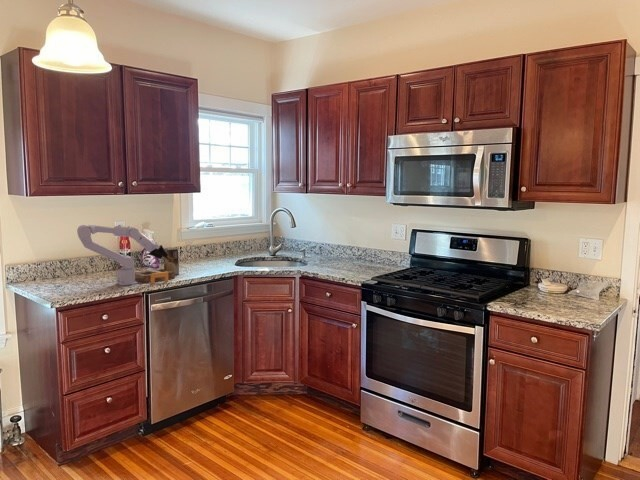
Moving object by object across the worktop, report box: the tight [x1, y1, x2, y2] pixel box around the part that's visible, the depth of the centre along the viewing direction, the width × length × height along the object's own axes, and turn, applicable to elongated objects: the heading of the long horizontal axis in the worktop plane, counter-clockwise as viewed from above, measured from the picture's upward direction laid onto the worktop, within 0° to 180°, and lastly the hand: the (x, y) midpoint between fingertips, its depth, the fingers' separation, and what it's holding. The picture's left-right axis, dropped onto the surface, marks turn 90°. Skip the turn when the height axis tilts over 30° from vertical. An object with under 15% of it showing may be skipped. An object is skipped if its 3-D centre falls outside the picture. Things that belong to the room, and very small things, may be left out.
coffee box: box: [163, 248, 180, 276], centre depth 301 cm, size 9×6×16 cm
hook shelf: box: [135, 268, 176, 284], centre depth 285 cm, size 20×14×5 cm
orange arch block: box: [150, 272, 169, 285], centre depth 274 cm, size 10×2×6 cm, turn 137°
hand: (164, 257), depth 280 cm, fingers open, 7 cm apart
